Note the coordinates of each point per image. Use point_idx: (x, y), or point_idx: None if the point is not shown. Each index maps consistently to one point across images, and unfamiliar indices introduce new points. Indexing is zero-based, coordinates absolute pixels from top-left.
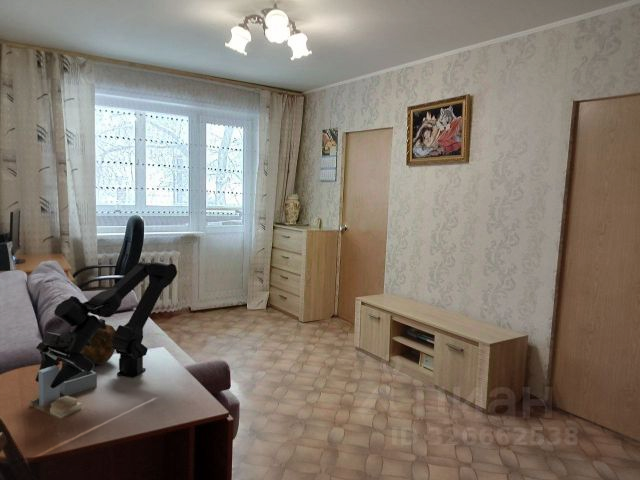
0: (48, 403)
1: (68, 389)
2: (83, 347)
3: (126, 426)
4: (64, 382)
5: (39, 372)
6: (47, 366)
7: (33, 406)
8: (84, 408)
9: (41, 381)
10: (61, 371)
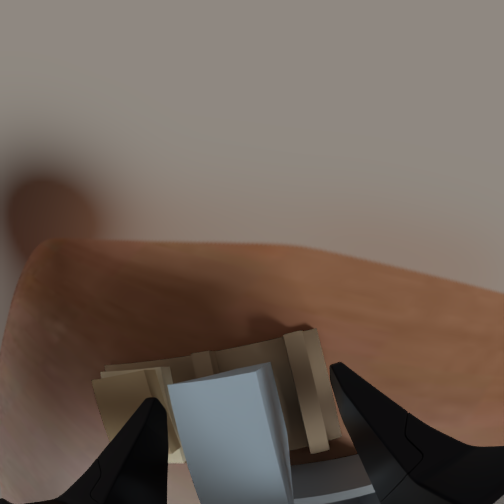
0: None
1: None
2: None
3: (14, 437)
4: (297, 499)
5: (237, 374)
6: (384, 474)
7: (281, 340)
8: None
9: (222, 374)
10: (89, 483)
